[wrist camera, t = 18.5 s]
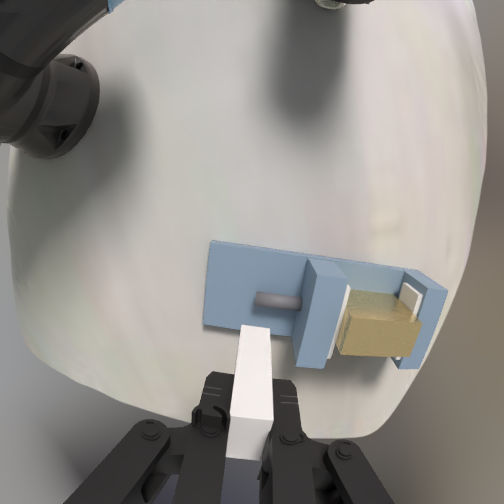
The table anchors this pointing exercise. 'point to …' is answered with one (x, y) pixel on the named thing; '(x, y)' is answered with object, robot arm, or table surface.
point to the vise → (290, 283)
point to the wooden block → (377, 326)
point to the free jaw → (314, 311)
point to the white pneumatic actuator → (339, 3)
